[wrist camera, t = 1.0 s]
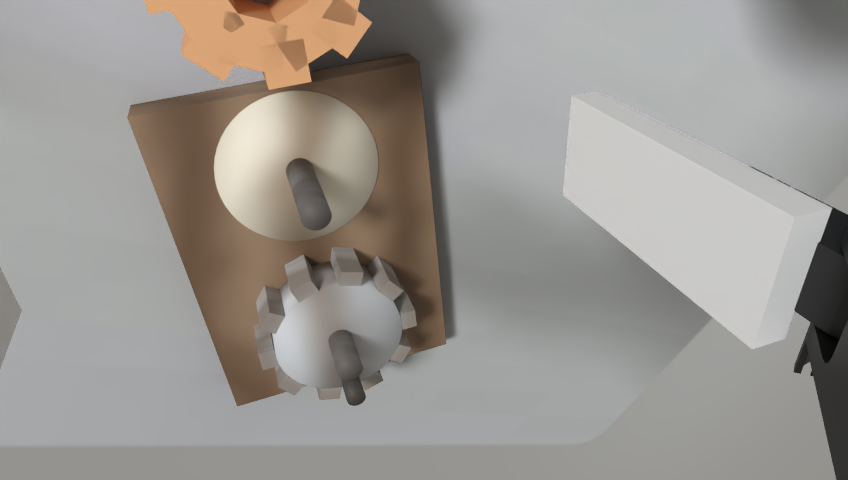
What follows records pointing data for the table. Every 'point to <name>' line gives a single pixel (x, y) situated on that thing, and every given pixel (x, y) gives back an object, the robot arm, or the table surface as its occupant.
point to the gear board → (262, 258)
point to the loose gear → (265, 34)
